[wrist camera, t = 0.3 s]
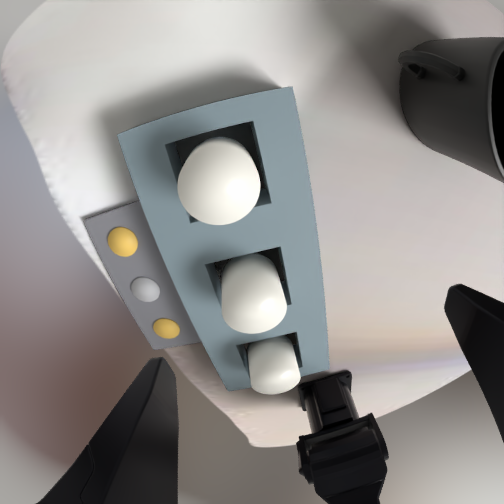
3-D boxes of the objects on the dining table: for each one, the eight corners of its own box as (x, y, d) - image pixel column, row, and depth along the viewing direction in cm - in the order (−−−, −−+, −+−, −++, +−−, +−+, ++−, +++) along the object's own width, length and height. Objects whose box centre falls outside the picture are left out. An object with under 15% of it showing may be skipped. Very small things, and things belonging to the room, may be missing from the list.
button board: (321, 346, 29) (329, 369, 26) (227, 368, 29) (228, 391, 26) (282, 87, 17) (292, 86, 14) (132, 128, 17) (116, 134, 14)
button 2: (294, 357, 26) (302, 388, 23) (252, 366, 26) (256, 398, 23) (289, 328, 24) (297, 361, 21) (242, 339, 24) (245, 372, 21)
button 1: (259, 192, 18) (267, 214, 15) (197, 207, 18) (191, 233, 15) (245, 129, 16) (250, 137, 13) (178, 147, 16) (167, 159, 13)
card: (202, 339, 27) (201, 343, 26) (154, 347, 27) (153, 351, 26) (141, 199, 19) (139, 202, 19) (85, 219, 20) (82, 222, 19)
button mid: (281, 292, 22) (290, 325, 19) (229, 304, 22) (231, 338, 19) (272, 247, 20) (281, 277, 17) (214, 260, 20) (213, 293, 17)
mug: (378, 6, 13) (460, -23, 6) (486, 74, 16) (564, 89, 8) (354, 118, 18) (435, 143, 10) (464, 166, 20) (539, 207, 12)
